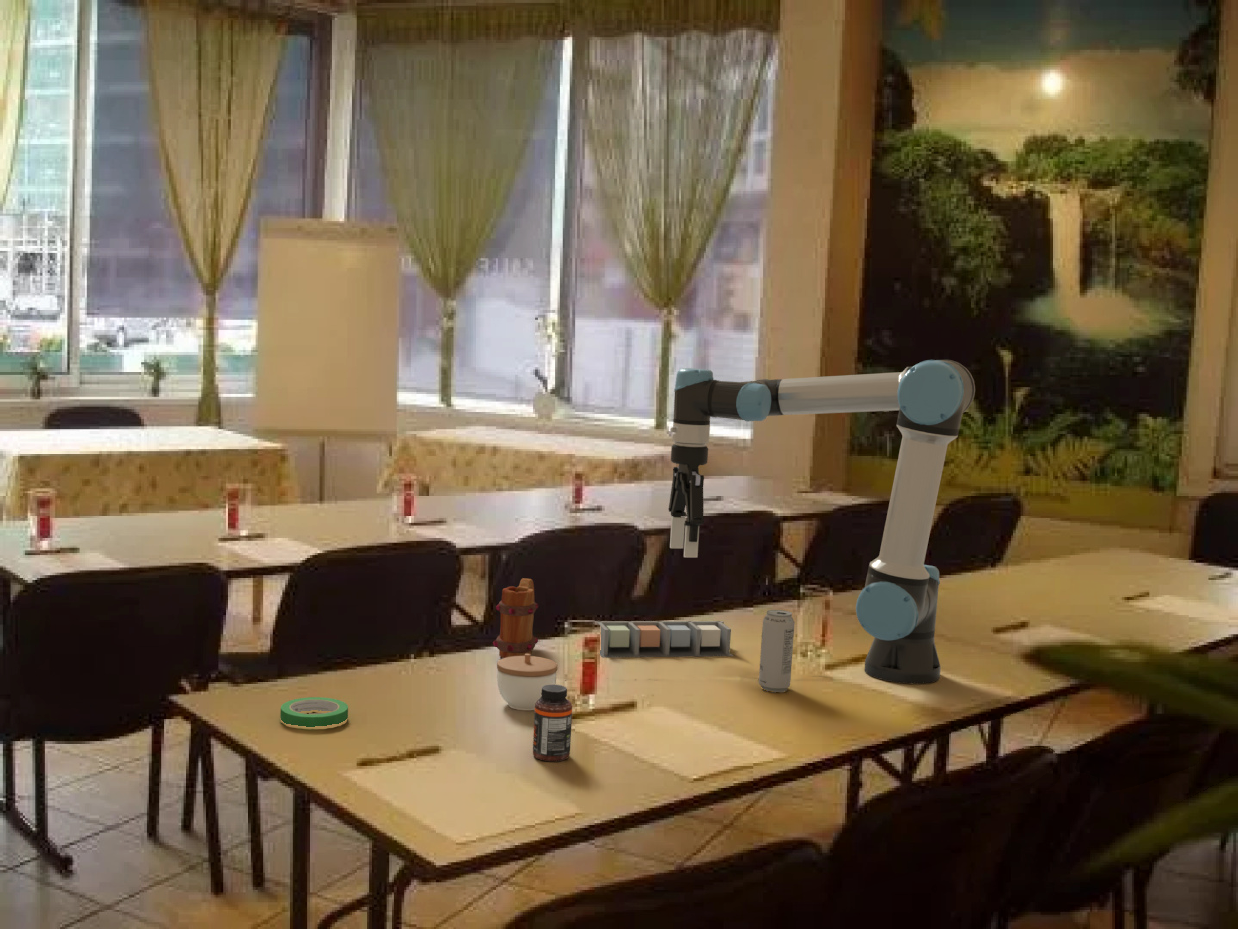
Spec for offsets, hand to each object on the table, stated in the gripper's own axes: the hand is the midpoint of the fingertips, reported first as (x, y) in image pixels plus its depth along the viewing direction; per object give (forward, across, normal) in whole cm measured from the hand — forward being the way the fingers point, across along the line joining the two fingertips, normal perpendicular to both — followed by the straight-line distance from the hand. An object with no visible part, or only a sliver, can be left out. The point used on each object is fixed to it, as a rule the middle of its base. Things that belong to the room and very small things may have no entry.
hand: (683, 552), depth 294 cm
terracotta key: (+19, 0, -6) cm, 20 cm away
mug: (+22, -1, -33) cm, 40 cm away
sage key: (+19, 0, -13) cm, 23 cm away
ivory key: (+19, 0, +6) cm, 20 cm away
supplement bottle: (+22, +62, -39) cm, 77 cm away
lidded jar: (+22, +34, -38) cm, 56 cm away
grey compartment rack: (+22, 0, -3) cm, 22 cm away
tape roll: (+22, +40, -75) cm, 88 cm away
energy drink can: (+22, +26, +12) cm, 36 cm away
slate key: (+19, 0, 0) cm, 19 cm away
